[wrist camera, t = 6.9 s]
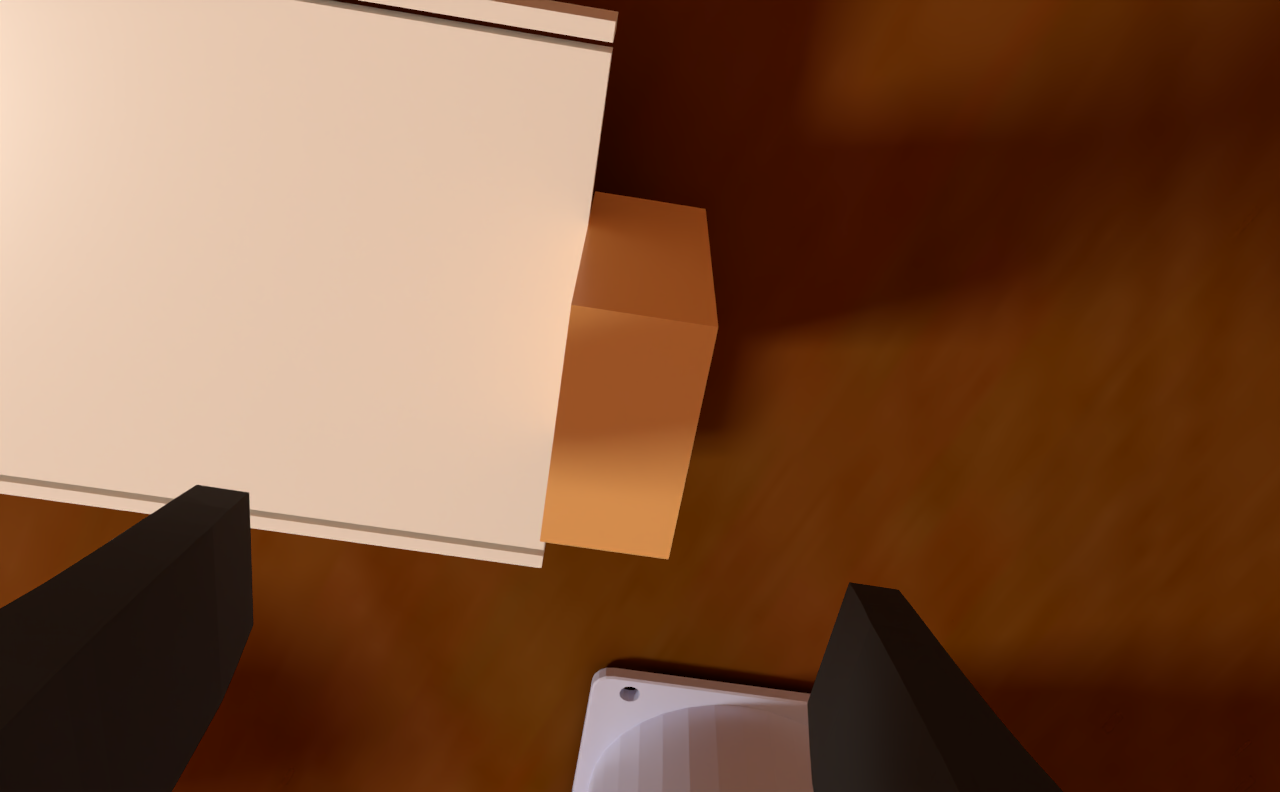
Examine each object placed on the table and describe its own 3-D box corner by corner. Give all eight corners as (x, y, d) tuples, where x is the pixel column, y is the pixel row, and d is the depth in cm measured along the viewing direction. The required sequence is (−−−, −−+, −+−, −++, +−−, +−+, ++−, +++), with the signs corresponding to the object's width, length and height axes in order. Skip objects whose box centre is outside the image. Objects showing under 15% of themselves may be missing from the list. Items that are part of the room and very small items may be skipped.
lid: (741, 25, 16) (769, 90, 12) (643, 527, 21) (637, 704, 17) (-194, -134, 15) (-537, -126, 11) (-67, 427, 20) (-268, 585, 16)
